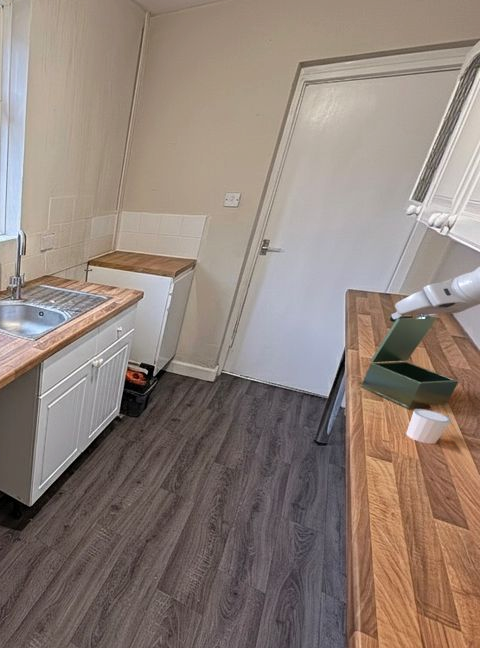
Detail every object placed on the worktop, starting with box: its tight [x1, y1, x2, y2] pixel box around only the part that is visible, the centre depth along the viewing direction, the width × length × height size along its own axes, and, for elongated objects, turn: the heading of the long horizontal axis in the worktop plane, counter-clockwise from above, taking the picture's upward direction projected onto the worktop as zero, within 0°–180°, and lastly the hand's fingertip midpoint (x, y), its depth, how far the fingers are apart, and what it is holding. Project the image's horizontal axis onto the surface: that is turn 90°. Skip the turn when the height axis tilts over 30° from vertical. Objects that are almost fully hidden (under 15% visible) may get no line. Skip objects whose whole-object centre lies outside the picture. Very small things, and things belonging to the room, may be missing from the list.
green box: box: [360, 361, 460, 410], centre depth 129 cm, size 15×13×9 cm
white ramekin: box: [405, 408, 452, 445], centre depth 108 cm, size 7×7×7 cm
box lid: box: [370, 315, 437, 363], centre depth 131 cm, size 15×13×5 cm
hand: (407, 316), depth 127 cm, fingers open, 8 cm apart
